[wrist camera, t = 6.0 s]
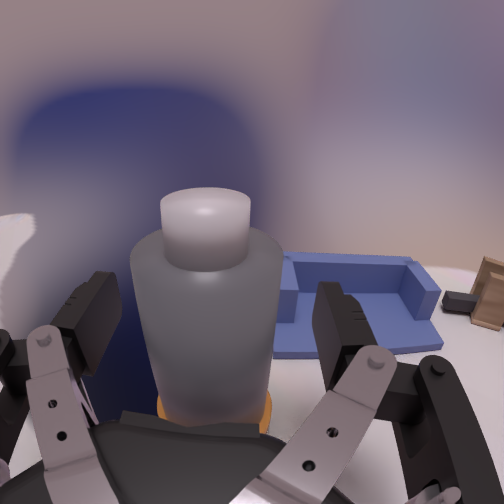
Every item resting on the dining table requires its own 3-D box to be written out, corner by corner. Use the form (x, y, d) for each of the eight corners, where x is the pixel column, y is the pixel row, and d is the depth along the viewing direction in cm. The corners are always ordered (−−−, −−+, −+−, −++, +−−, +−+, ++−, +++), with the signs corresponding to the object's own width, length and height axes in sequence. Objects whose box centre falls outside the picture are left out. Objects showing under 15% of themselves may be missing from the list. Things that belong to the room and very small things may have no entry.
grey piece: (144, 437, 12) (75, 214, 7) (199, 374, 16) (187, 171, 11) (238, 487, 10) (246, 264, 5) (283, 409, 14) (321, 193, 9)
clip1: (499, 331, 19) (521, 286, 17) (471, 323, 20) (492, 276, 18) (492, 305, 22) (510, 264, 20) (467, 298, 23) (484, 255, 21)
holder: (440, 349, 18) (458, 312, 16) (273, 358, 18) (278, 317, 16) (403, 289, 24) (413, 257, 23) (268, 287, 24) (271, 251, 23)
